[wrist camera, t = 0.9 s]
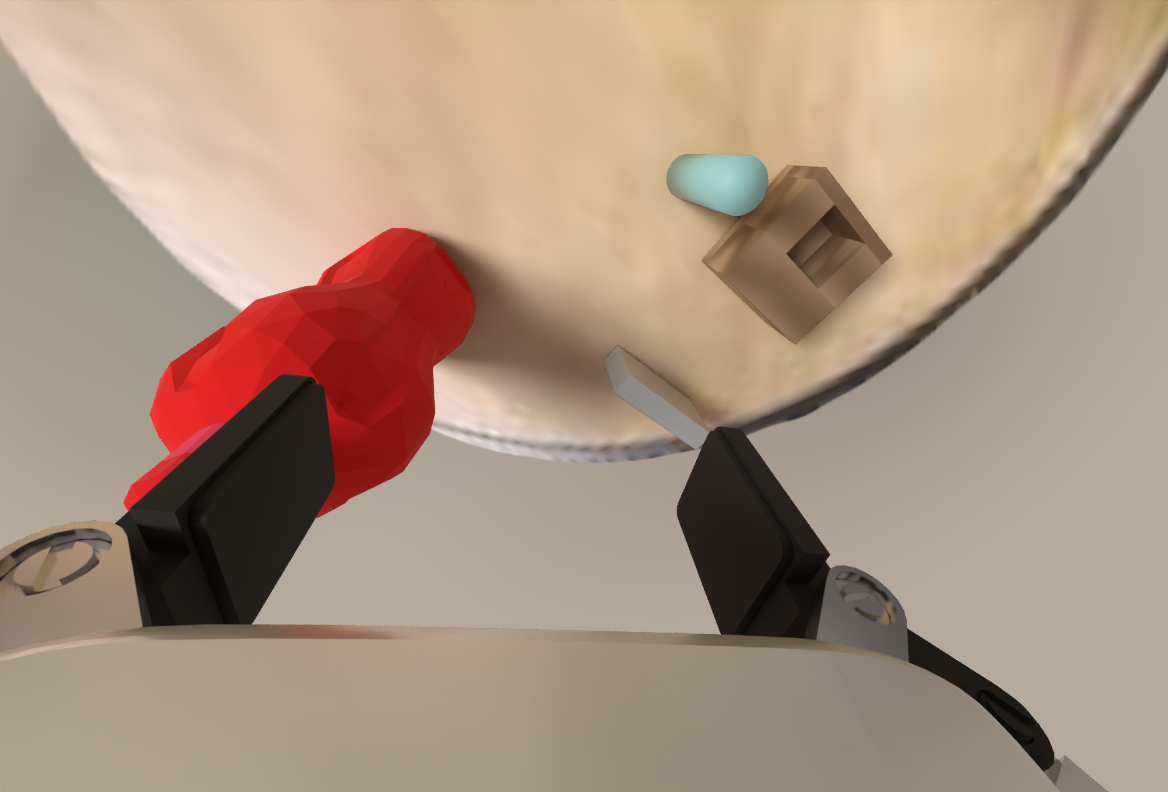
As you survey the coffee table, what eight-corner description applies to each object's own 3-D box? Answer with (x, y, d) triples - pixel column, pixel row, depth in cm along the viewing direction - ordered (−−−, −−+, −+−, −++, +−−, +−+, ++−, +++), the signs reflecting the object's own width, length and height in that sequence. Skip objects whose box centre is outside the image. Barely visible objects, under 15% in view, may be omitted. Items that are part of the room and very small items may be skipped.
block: (787, 165, 32) (826, 167, 27) (849, 242, 35) (892, 254, 31) (701, 260, 35) (724, 276, 31) (766, 322, 38) (795, 344, 34)
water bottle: (308, 282, 33) (-122, 529, 11) (420, 207, 31) (157, 336, 10) (390, 371, 37) (193, 669, 16) (492, 311, 35) (425, 556, 14)
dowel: (687, 144, 31) (745, 142, 22) (713, 173, 32) (778, 182, 23) (658, 180, 32) (703, 191, 23) (685, 207, 33) (737, 227, 24)
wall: (617, 344, 38) (630, 375, 33) (690, 400, 42) (712, 435, 37) (603, 360, 39) (613, 393, 34) (676, 413, 43) (696, 449, 38)
